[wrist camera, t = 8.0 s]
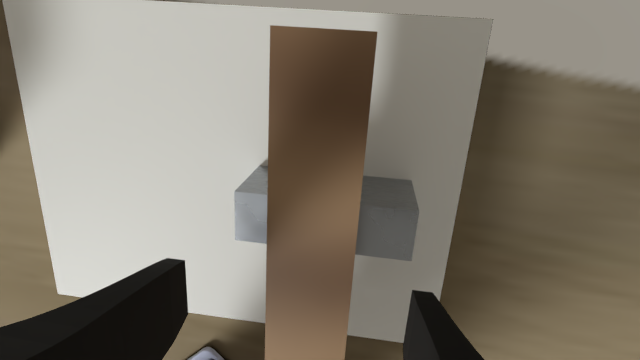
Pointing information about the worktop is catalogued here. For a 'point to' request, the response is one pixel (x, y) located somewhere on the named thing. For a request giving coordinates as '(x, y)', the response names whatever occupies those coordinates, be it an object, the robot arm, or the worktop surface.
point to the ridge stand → (233, 146)
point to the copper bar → (314, 185)
